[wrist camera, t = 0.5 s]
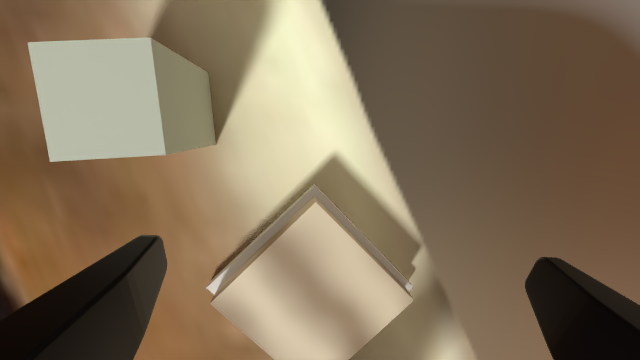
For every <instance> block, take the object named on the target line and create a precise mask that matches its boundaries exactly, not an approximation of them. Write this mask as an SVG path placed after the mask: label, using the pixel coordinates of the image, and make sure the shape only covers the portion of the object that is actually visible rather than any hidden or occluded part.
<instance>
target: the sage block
mask: <svg viewBox="0 0 640 360" xmlns="http://www.w3.org/2000/svg"><path fill="white" fill-rule="evenodd" d="M28 47H29V52H30V58H31V63H32V68H33V73H34V79H35V84H36V89H37V95H38V100H39V105H40V110H41V116H42V121H43V126H44V132H45V137H46V142H47V148H48V153H49V158H50V162H53V161H70V160H87V159H104V158H121V157H138V156H155V155H168V154H172V153H177V152H182V151H187V150H192V149H197V148H202V147H207V146H212V145H216V140H215V130H214V121H213V111H212V102H211V92H210V83H209V73H208V72H206V71H205V70H203V69H201V68H200V67H198V66H197V65H195V64H193V63H192V62H190V61H188V60H187V59H185V58H183V57H182V56H180V55H178V54H177V53H175V52H173V51H172V50H170V49H169V48H167V47H165V46H164V45H162V44H160V43H159V42H157V41H155V40H154V39H152V38H126V39H101V40H76V41H51V42H28Z"/></svg>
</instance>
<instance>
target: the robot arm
mask: <svg viewBox="0 0 640 360" xmlns="http://www.w3.org/2000/svg"><path fill="white" fill-rule="evenodd" d="M166 270H167V259H166V254H165V250H164V245H163V241H162V238H161V237H160V236H157V235H141V236H139V237H137V238H135V239H133V240H132V241H130V242H129V243H127V244H125V245H124V246H122V247H120V248H119V249H117V250H115V251H114V252H112V253H110V254H109V255H107V256H105V257H104V258H102V259H100V260H99V261H97V262H96V263H94V264H92V265H91V266H89V267H87V268H86V269H84V270H82V271H81V272H79V273H77V274H76V275H74V276H72V277H71V278H69V279H67V280H66V281H64V282H63V283H61V284H59V285H58V286H56V287H54V288H53V289H51V290H49V291H48V292H46V293H44V294H43V295H41V296H39V297H38V298H36V299H34V300H33V301H31V302H30V303H28V304H26V305H25V306H23V307H21V308H20V309H18V310H16V311H15V312H13V313H11V314H10V315H8V316H6V317H5V318H3V319H1V320H0V360H133V359H134V357H135V354H136V352H137V350H138V348H139V346H140V343H141V341H142V339H143V337H144V334H145V332H146V329H147V326H148V323H149V320H150V318H151V315H152V312H153V309H154V306H155V303H156V300H157V297H158V294H159V291H160V288H161V285H162V282H163V279H164V277H165V274H166ZM525 289H526V292H527V295H528V298H529V300H530V302H531V305H532V308H533V310H534V313H535V316H536V318H537V321H538V323H539V326H540V328H541V331H542V333H543V336H544V339H545V341H546V344H547V346H548V348H549V351H550V353H551V355H552V357H553V359H554V360H640V305H638V304H637V303H635V302H633V301H632V300H630V299H628V298H626V297H625V296H623V295H621V294H620V293H618V292H616V291H615V290H613V289H611V288H609V287H608V286H606V285H604V284H602V283H601V282H599V281H597V280H596V279H594V278H592V277H591V276H589V275H587V274H585V273H584V272H582V271H580V270H579V269H577V268H575V267H573V266H571V265H570V264H568V263H566V262H565V261H563V260H561V259H559V258H552V257H551V258H550V257H541V258H539V259H538V260H537V261H536V263H535V264H534V266H533V268H532V270H531V272H530V273H529V275H528V277H527V279H526V281H525Z"/></svg>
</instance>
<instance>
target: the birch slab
mask: <svg viewBox="0 0 640 360" xmlns="http://www.w3.org/2000/svg"><path fill="white" fill-rule="evenodd" d="M413 301H414V299H413V298H412V296H411V295H410V293H409V292H408V290H407V289H406V287H405V286H404V285H403V284H402V283H401V282H400V281H399V280H398V279H397V278H396V277H395V276H394V275H393V274H392V273H391V272H390V271H389V270H388V269H387V268H386V267H385V266H384V265H383V264H382V263H381V262H380V261H379V260H378V259H377V258H376V257H375V256H374V255H373V254H372V253H371V252H370V251H369V250H368V249H367V248H366V247H365V246H364V245H363V244H362V243H361V242H360V241H359V240H358V239H357V238H356V237H355V236H354V235H353V234H352V233H351V232H350V231H349V230H348V229H347V228H346V227H345V226H344V225H343V224H342V223H341V222H340V221H339V220H338V219H337V218H336V217H335V216H334V215H333V214H332V213H331V212H330V211H329V210H328V209H327V208H326V207H325V206H324V205H323V204H322V203H321V202H320V201H319V200H318V199H317V198H316V197H315V196H314V197H313V198H312V199H311V200H310V201H309V202H308V203H307V204H305V205H304V206H303V207H302V208H301V209H300V210H299V211H298V212H297V213H296V214H295V215H294V216H293V217H292V218H291V219H290V220H289V221H288V222H287V223H286V224H285V225H284V226H283V227H282V228H281V229H279V230H278V231H277V232H276V233H275V234H274V235H273V236H272V237H271V238H270V239H269V240H268V241H267V242H266V243H265V244H264V245H263V246H262V247H261V248H260V249H259V250H258V251H257V252H256V253H255V254H253V255H252V256H251V257H250V258H249V259H248V260H247V261H246V262H245V263H244V264H243V265H242V266H241V267H240V268H239V269H238V270H237V271H236V272H235V273H234V274H233V275H232V276H231V277H230V278H229V279H227V280H226V281H225V282H224V283H223V284H222V285H221V286H220V287H219V288H218V289H217V291H216V293H215V295H214V297H213V299H212V301H211V303H210V304H211V305H212V306H213V307H215V308H216V309H217V310H218V311H219V312H220V313H221V314H223V315H224V316H225V317H226V318H227V319H228V320H230V321H231V322H232V323H233V324H234V325H235V326H236V327H238V328H239V329H240V330H241V331H242V332H243V333H245V334H246V335H247V336H248V337H249V338H250V339H251V340H253V341H254V342H255V343H256V344H257V345H258V346H259V347H261V348H262V349H263V350H264V351H265V352H266V353H268V354H269V355H270V356H271V357H272V358H273V359H274V360H349V359H350V358H351V357H352V356H353V355H355V354H356V353H357V352H358V351H359V350H360V349H361V348H362V347H363V346H364V345H366V344H367V343H368V342H369V341H370V340H371V339H372V338H373V337H374V336H375V335H377V334H378V333H379V332H380V331H381V330H382V329H383V328H384V327H385V326H386V325H388V324H389V323H390V322H391V321H392V320H393V319H394V318H395V317H396V316H397V315H399V314H400V313H401V312H402V311H403V310H404V309H405V308H406V307H407V306H408V305H410V304H411V303H412V302H413Z"/></svg>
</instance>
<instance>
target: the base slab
mask: <svg viewBox="0 0 640 360" xmlns="http://www.w3.org/2000/svg"><path fill="white" fill-rule="evenodd" d="M314 196H315V197H316V198H317V199H318V200H319V201H320V202H321V203H322V204H323V205H324V206H325V207H326V208H327V209H328V210H329V211H330V212H331V213H332V214H333V215H334V216H335V217H336V218H337V219H338V220H339V221H340V222H341V223H342V224H343V225H344V226H345V227H346V228H347V229H348V230H349V231H350V232H351V233H352V234H353V235H354V236H355V237H356V238H357V239H358V240H359V241H360V242H361V243H362V244H363V245H364V246H365V247H366V248H367V249H368V250H369V251H370V252H371V253H372V254H373V255H374V256H375V257H376V258H377V259H378V260H379V261H380V262H381V263H382V264H383V265H384V266H385V267H386V268H387V269H388V270H389V271H390V272H391V273H392V274H393V275H394V276H395V277H396V278H397V279H398V280H399V281H400V282H401V283H402V284H403V285H404V286H405V287H406V289H407V290H408V292H409V291H410V290H411V289H412V288H413V287H412V285H411V284H410V282H409V281H408V280H407V279H406V278H405V277H404V276H403V275H402V274H401V273H400V272H399V271H398V270H397V269H396V267H395V266H394V265H393V264H392V263H391V262H390V261H389V260H388V259H387V258H386V257H385V256H384V255H383V254H382V253H381V252H380V251H379V250H378V249H377V248H376V247H375V246H374V245H373V244H372V243H371V242H370V241H369V239H368V238H367V237H366V236H365V235H364V234H363V233H362V232H361V231H360V230H359V229H358V228H357V227H356V226H355V225H354V224H353V223H352V222H351V221H350V220H349V219H348V218H347V217H346V216H345V215H344V214H343V213H342V212H341V210H340V209H339V208H338V207H337V206H336V205H335V204H334V203H333V202H332V201H331V200H330V199H329V198H328V197H327V196H326V195H325V194H324V193H323V192H322V191H321V190H320V189H319V188H318V187H317V186H316V185H315V184H313V185H312V186H311V187H310V188H309V189H308V190H307V191H305V192H304V193H303V194H302V195H301V196H300V197H299V198H298V199H297V200H296V201H295V202H294V203H293V204H292V205H291V206H290V207H288V208H287V209H286V210H285V211H284V212H283V213H282V214H281V215H280V216H279V217H278V218H277V219H276V220H275V221H274V222H273V223H271V224H270V225H269V226H268V227H267V228H266V229H265V230H264V231H263V232H262V233H261V234H260V235H259V236H258V237H257V238H256V239H254V240H253V241H252V242H251V243H250V244H249V245H248V246H247V247H246V248H245V249H244V250H243V251H242V252H241V253H240V254H238V255H237V256H236V257H235V258H234V259H233V260H232V261H231V262H230V263H229V264H228V265H227V266H226V267H225V268H224V269H223V270H221V271H220V272H219V273H218V274H217V275H216V276H215V277H214V278H213V279H212V280H211V281H210V283H209V284H208V286H207V289H208V290H209V291H211V292H212V293H213V294H214V295H215V293H216V291H217V289H218V288H219V287H220V286H221V285H222V284H223V283H224V282H225V281H226V280H227V279H229V278H230V277H231V276H232V275H233V274H234V273H235V272H236V271H237V270H238V269H239V268H240V267H241V266H242V265H243V264H244V263H245V262H246V261H247V260H248V259H249V258H250V257H251V256H252V255H253V254H255V253H256V252H257V251H258V250H259V249H260V248H261V247H262V246H263V245H264V244H265V243H266V242H267V241H268V240H269V239H270V238H271V237H272V236H273V235H274V234H275V233H276V232H277V231H278V230H279V229H281V228H282V227H283V226H284V225H285V224H286V223H287V222H288V221H289V220H290V219H291V218H292V217H293V216H294V215H295V214H296V213H297V212H298V211H299V210H300V209H301V208H302V207H303V206H304V205H305V204H307V203H308V202H309V201H310V200H311V199H312V198H313V197H314Z"/></svg>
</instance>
